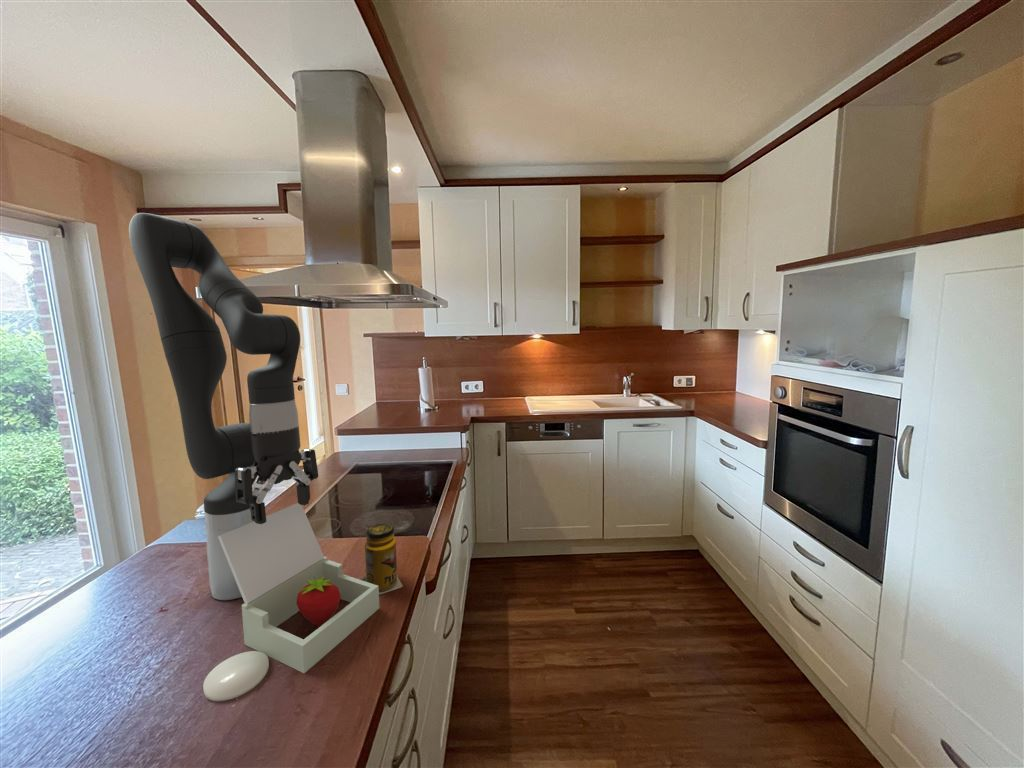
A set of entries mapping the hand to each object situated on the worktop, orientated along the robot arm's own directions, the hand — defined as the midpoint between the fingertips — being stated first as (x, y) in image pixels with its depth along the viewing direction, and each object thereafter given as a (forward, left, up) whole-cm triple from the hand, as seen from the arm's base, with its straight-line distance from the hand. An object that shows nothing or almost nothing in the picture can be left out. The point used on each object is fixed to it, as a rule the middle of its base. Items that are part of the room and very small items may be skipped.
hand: (283, 513), depth 73 cm
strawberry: (+10, -2, -19) cm, 21 cm away
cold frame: (+6, -2, -18) cm, 19 cm away
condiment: (+11, +12, -19) cm, 25 cm away
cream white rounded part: (+8, -14, -18) cm, 24 cm away
